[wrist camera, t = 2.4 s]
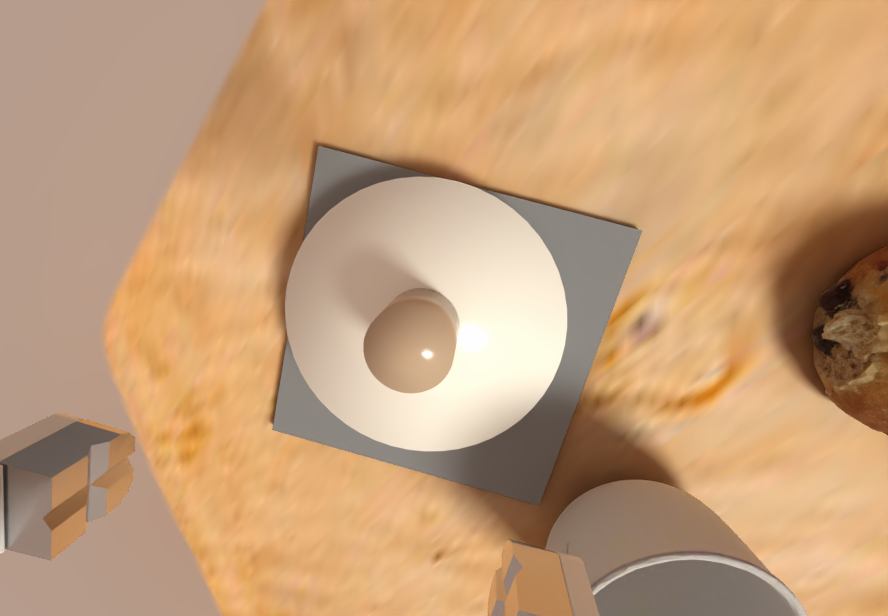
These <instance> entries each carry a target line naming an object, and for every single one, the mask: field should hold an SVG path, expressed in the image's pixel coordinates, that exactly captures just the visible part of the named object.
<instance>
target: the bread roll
mask: <svg viewBox="0 0 888 616" xmlns="http://www.w3.org/2000/svg"><path fill="white" fill-rule="evenodd" d="M819 301H820V305H819V306H818V307H817V309H816V311H815V314H814V318H813V328H812V332H811V336H812V340H813V342H814V349H813V356H814V365H815V367H816V370H817V372H818V375H819V377H820V379H821V380H822V382H823V384H824V386H825V389H826V390H825V394H827V395H829V397H830V399H831V400H832V401H833V402H834V403H835V404H836V405H837V406H838V407H839V408H840V409H841V410H843V411H844V412H845V413H847V414H848V415H850V416H852V417H853V418H855V419H856V420H858V421H860V422H861V423H863V424H865V425H867V426H868V427H870V428H872V429H874V430H876V431H880V432H883V433H885V434H887V435H888V245H887V246H885V247H883V248H881V249H879V250H877V251H875V252H873V253H872V254H870V255H868V256H867V257H865V258H863V259H861V260H860V261H858V262H856V263H855V264H854V265H853V266H852V268H851V269H850V270H849V271H848V272H847V273H846V274H845V275H844V276H843V277H842V278H841V279H840V280H839V281H838V282H837V283H836V284H835V285H833V286H832V287H830V288H829V289H827V290H826V291H824V292H823V293H822V294H821V295H820V297H819Z"/></svg>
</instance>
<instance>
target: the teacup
mask: <svg viewBox="0 0 888 616" xmlns="http://www.w3.org/2000/svg"><path fill="white" fill-rule="evenodd" d="M545 549H547V550H551V551H554V552H560V553H564V554H568V555H572V556H576V557H580V558H581V560H582V561H583V562H584V566H585V569H586V572H587V576H588V579H589V582H590V586H591V589H592V592H593V595H594V599H595V602H596V605H597V609H598V612H599V615H600V616H807V614H806V611H805V610H804V608H803V607H802V605H801V604H800V602H799V601H798V599H797V598H796V597H795V595H794V594H793V593H792V592H791V591H790V590H789V589H788V588H787V587H786V586H785V584H784V583H783V582H781V581H780V580H779V579H778V578H776V577H775V576H774V575H772V574H771V573H770V571H769V570H768V569H767V568H766V567H765V566H764V564H763V563H762V562H761V561H760V560H759V559H758V558H757V557H756V555H755V554H754V553H753V552H752V551H751V550H750V549H749V548H748V547H747V545H746V544H745V543H744V542H743V541H742V540H741V539H740V538H739V537H738V536H737V535H736V534H735V533H734V532H733V531H732V529H731V528H730V527H729V526H728V525H727V524H726V523H725V522H724V521H723V520H722V519H721V518H720V517H719V516H718V515H716V514H715V513H714V512H713V511H712V510H711V509H710V508H708V507H707V506H706V505H705V504H703V503H702V502H701V501H700V500H698V499H696V498H695V497H693V496H692V495H690V494H688V493H686V492H684V491H682V490H680V489H678V488H676V487H673V486H670V485H667V484H664V483H660V482H656V481H649V480H620V481H615V482H610V483H606V484H603V485H600V486H598V487H595V488H593V489H591V490H589V491H587V492H585V493H584V494H582V495H580V496H579V497H578V498H576V499H575V500H574V501H573V502H571V503H570V504H569V505H568V506H567V507H566V508H565V510H564V511H563V512H562V513H561V514H560V516H559V517H558V519H557V520H556V521H555V523H554V525H553V527H552V529H551V532H550V534H549V537H548V540H547V544H546V548H545Z"/></svg>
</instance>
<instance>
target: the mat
mask: <svg viewBox="0 0 888 616" xmlns="http://www.w3.org/2000/svg"><path fill="white" fill-rule="evenodd" d="M407 177H436V176H432V175H428V174H425V173H421V172H417V171H413V170H409V169H405V168H402V167H398V166H394V165H390V164H386V163H383V162H379V161H375V160H371V159H367V158H363V157H360V156H356V155H352V154H348V153H344V152H341V151H337V150H333V149H329V148H325V147H321V146H319V147H318V153H317V159H316V165H315V171H314V177H313V184H312V190H311V196H310V202H309V208H308V214H307V220H306V227H305V233H304V239H303V242H304V240H305V238H306V237H307V235H308V234H309V233H310V231H311V230H312V229H313V227H314V226H315V225H316V223H317V222H318V221H319V220H320V219H321V218H322V217H323V216H324V215H325V214H326V213H327V212H328V211H329V210H330V209H332V208H333V207H334V206H336V205H337V204H338V203H340V202H341V201H342V200H344V199H345V198H347V197H349V196H351V195H352V194H354V193H356V192H358V191H359V190H361V189H364V188H367V187H369V186H372V185H374V184H377V183H380V182H384V181H389V180H393V179H397V178H407ZM437 178H440V177H437ZM443 179H444V178H443ZM473 187H474V186H473ZM476 188H478V187H476ZM479 189H481V190H483V191H485V192H487V193H489V194H491V195H493V196H495V197H496V198H498V199H499V200H501V201H502V202H504V203H505V204H507V205H508V206H510V207H511V208H513V209H514V210H515V211H516V212H517V213H518V214H519V215H520V216H521V217H523V218H524V219H525V220H526V221H527V222H528V223H529V224H530V226H531V227H532V228H533V229H534V230H535V232H536V233H537V234H538V235H539V236H540V238H541V239H542V241H543V242H544V244H545V245H546V247H547V249H548V250H549V252H550V253H551V255H552V258H553V260H554V262H555V264H556V266H557V269H558V271H559V274H560V277H561V281H562V284H563V287H564V291H565V298H566V305H567V333H566V341H565V347H564V351H563V354H562V358H561V361H560V364H559V367H558V369H557V371H556V374H555V376H554V378H553V380H552V382H551V384H550V385H549V387H548V389H547V390H546V392H545V393H544V395H543V396H542V397H541V399H540V400H539V401H538V402H537V404H536V405H535V406H534V407H533V408H532V409H531V410H530V411H529V412H528V413H527V414H526V415H525V416H524V417H523V418H522V419H521V420H520V421H518V422H517V423H516V424H514V425H513V426H511V427H510V428H509V429H507V430H506V431H504V432H502V433H500V434H498V435H497V436H495V437H493V438H491V439H489V440H486V441H483V442H481V443H478V444H476V445H472V446H468V447H465V448H461V449H455V450H447V451H416V450H407V449H403V448H398V447H394V446H390V445H387V444H384V443H381V442H379V441H376V440H373V439H371V438H369V437H367V436H365V435H363V434H361V433H359V432H358V431H356V430H354V429H353V428H351V427H350V426H348V425H346V424H345V423H344V422H343V421H341V420H340V419H339V418H338V417H336V416H335V415H334V414H333V413H331V411H330V410H329V409H328V408H327V407H326V406H325V405H324V404H323V403H322V402H321V401H320V400H319V399H318V398H317V396H316V395H315V394H314V392H313V391H312V390H311V389H310V387H309V386H308V384H307V382H306V381H305V379H304V377H303V376H302V374H301V372H300V370H299V368H298V366H297V363H296V361H295V359H294V356H293V353H292V350H291V347H290V343H289V340H288V337H287V343H286V349H285V355H284V362H283V368H282V374H281V380H280V386H279V392H278V398H277V405H276V411H275V417H274V423H273V429H272V430H275V431H278V432H282V433H285V434H289V435H292V436H296V437H299V438H303V439H306V440H310V441H313V442H317V443H320V444H324V445H327V446H331V447H334V448H338V449H341V450H345V451H348V452H352V453H355V454H359V455H362V456H366V457H369V458H373V459H376V460H380V461H384V462H387V463H391V464H394V465H398V466H401V467H405V468H408V469H412V470H415V471H419V472H422V473H426V474H429V475H433V476H436V477H440V478H443V479H447V480H450V481H454V482H457V483H461V484H464V485H468V486H471V487H475V488H478V489H482V490H485V491H489V492H492V493H496V494H499V495H503V496H506V497H510V498H513V499H517V500H520V501H524V502H527V503H531V504H534V505H538V506H539V505H540V502H541V499H542V497H543V494H544V491H545V489H546V486H547V483H548V481H549V478H550V475H551V472H552V470H553V467H554V464H555V462H556V459H557V456H558V454H559V451H560V448H561V446H562V443H563V440H564V438H565V435H566V432H567V430H568V427H569V424H570V422H571V419H572V416H573V414H574V411H575V408H576V406H577V403H578V400H579V398H580V395H581V392H582V390H583V387H584V384H585V382H586V379H587V376H588V374H589V371H590V368H591V366H592V363H593V360H594V358H595V355H596V352H597V350H598V347H599V344H600V342H601V339H602V336H603V334H604V331H605V328H606V326H607V323H608V320H609V318H610V315H611V312H612V310H613V307H614V304H615V302H616V299H617V296H618V294H619V291H620V288H621V286H622V283H623V280H624V278H625V275H626V272H627V270H628V267H629V264H630V262H631V259H632V256H633V254H634V251H635V248H636V246H637V243H638V240H639V238H640V235H641V232H642V230H638V229H635V228H631V227H627V226H623V225H619V224H616V223H612V222H608V221H604V220H600V219H596V218H593V217H589V216H585V215H581V214H577V213H574V212H570V211H566V210H562V209H558V208H554V207H551V206H547V205H543V204H539V203H535V202H531V201H528V200H524V199H520V198H516V197H512V196H509V195H505V194H501V193H497V192H493V191H489V190H486V189H482V188H479Z"/></svg>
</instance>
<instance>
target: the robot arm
mask: <svg viewBox="0 0 888 616" xmlns="http://www.w3.org/2000/svg"><path fill="white" fill-rule="evenodd" d="M134 451H135V437H134V436H133V435H131V434H130V433H128V432H124V431H121V430H118V429H115V428H112V427H108V426H105V425H102V424H99V423H95V422H92V421H89V420H83V419H80V418H77V417H74V416H71V415H68V414H54V415H52V416H50V417H47V418H45V419H43V420H41V421H39V422H37V423H35V424H33V425H31V426H29V427H26V428H25V429H22V430H20V431H18V432H16V433H14V434H12V435H10V436H8V437H6V438H4V439H2V440H0V554H1V553H3V552H5V549H7V550H11V551H15V552H19V553H23V554H27V555H31V556H35V557H39V558H43V559H47V560H52V559H53V558H55V557H56V556H57V555H58V554H59V553H61V552H62V551H63V550H64V549H66V548H67V547H68V546H69V545H71V544H72V543H73V542H74V541H75V540H77V539H78V538H79V537H80V536H82V535H83V534H84V533H85V531H86V527H87V523H88V522H89V521H92V520H95V519H97V518H100V517H103V516H106V515H107V514H108V513H109V512H111V511H112V510H113V509H114V508H115V507H116V506H117V505H118V504H119V503H120V502H121V500H122V499H123V498H124V496H125V495H126V493H127V492H128V491H129V488H130V485H131V482H132V479H133V467H132V466H131V464H130V462H129V460H128V457H129V456H130V455H131V454H132V453H133V452H134ZM488 616H600V615H599V612H598V609H597V605H596V602H595V599H594V595H593V592H592V589H591V586H590V582H589V579H588V576H587V572H586V569H585V566H584V562H583V561H582V560H581V558H580V557H576V556H572V555H568V554H564V553H560V552H554V551H551V550H547V549H543V548H540V547H536V546H532V545H529V544H525V543H521V542H518V541H514V540H510V539H509V540H508V541H507V543H506V544H505V547H504V549H503V552H502V567H501V568H500V569H498V570H497V571H496V572H495V575H494V578H493V581H492V584H491V589H490V595H489V601H488Z"/></svg>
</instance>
